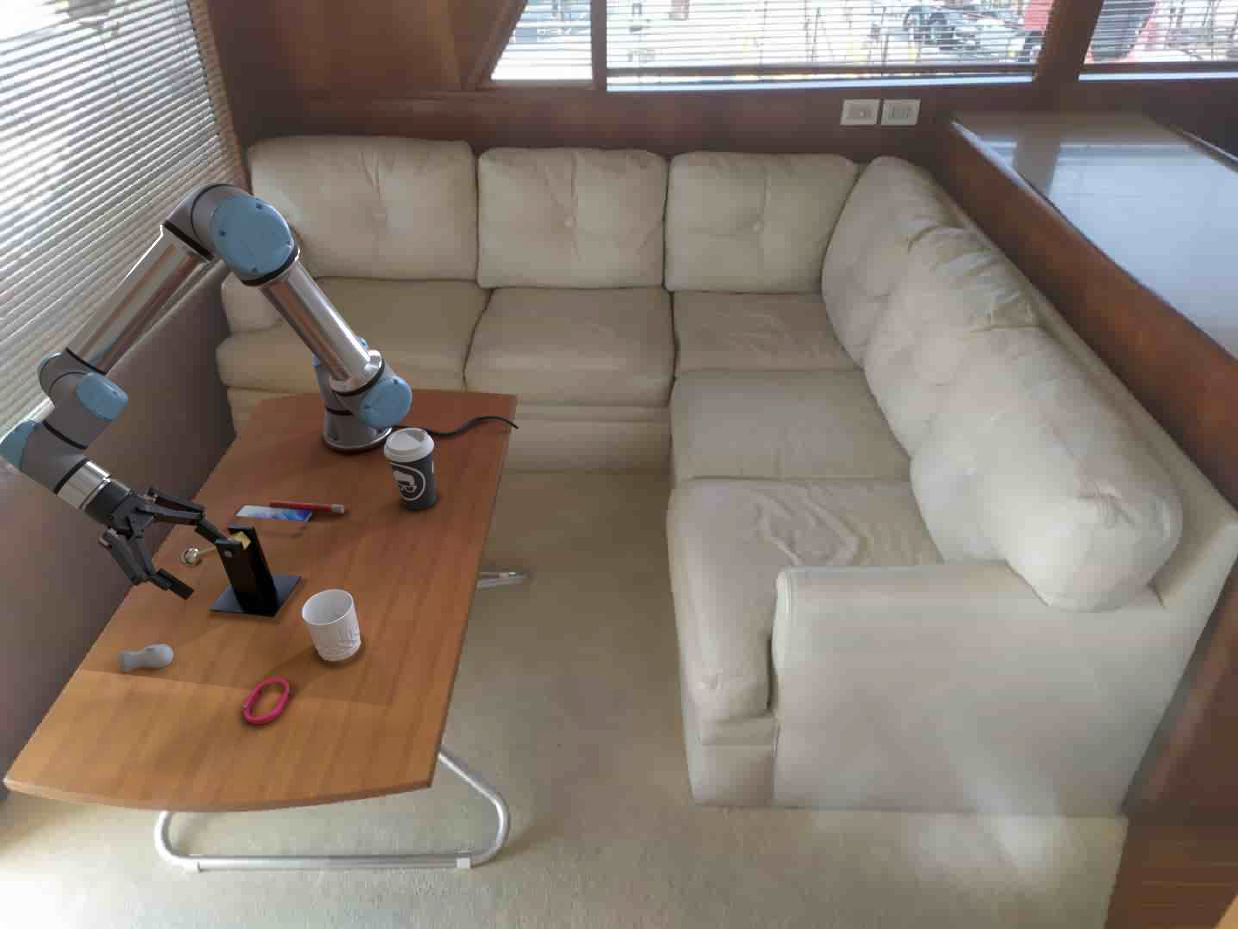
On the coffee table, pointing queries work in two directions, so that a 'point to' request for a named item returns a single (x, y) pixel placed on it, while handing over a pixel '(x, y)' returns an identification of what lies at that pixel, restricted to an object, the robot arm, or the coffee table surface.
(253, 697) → the fitness band
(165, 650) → the smooth white sculpture
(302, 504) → the red road flare
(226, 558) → the bracket
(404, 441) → the coffee cup
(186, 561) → the silver ball pendulum
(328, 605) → the white cup
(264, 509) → the smartphone
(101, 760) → the coffee table surface
